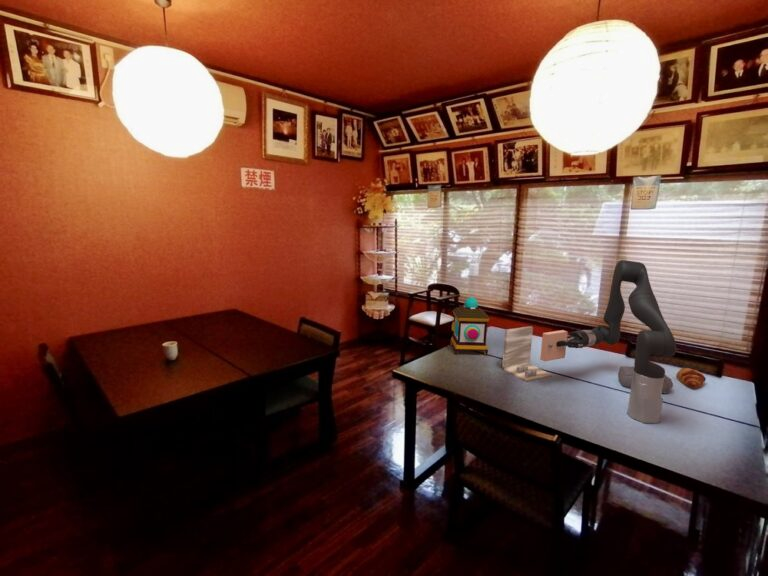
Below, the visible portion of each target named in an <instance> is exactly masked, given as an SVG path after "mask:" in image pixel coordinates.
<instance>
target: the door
mask: <svg viewBox="0 0 768 576" xmlns="http://www.w3.org/2000/svg"><path fill="white" fill-rule="evenodd" d="M567 335H568V331H566V330H564V329H561V330H555V331H549V332H543V333H542V338H541V348H540V349H541V350H540V361H542V362H549V361H555V360H560V359H564V358H566V351H567V349H566V348H567V346H566V347H565V346H560V347H557V346H556V344H557V342H558V341H564V340H567Z"/></svg>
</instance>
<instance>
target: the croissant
mask: <svg viewBox="0 0 768 576" xmlns="http://www.w3.org/2000/svg"><path fill="white" fill-rule="evenodd" d="M675 377H676V379H678V381H679V382H680V383H682V384H684V385H685V386H686V387H689V388H690V389H691V388H692V389H698V388H701V387H702V386H703V385H704V383H705V382H706V380H707V379H706V377H705V375H704V373H702V372H700V371H698V370H697V369H692V368H689V367H682V368H680V369H679V370H678V371H677V372H676V375H675Z"/></svg>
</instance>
